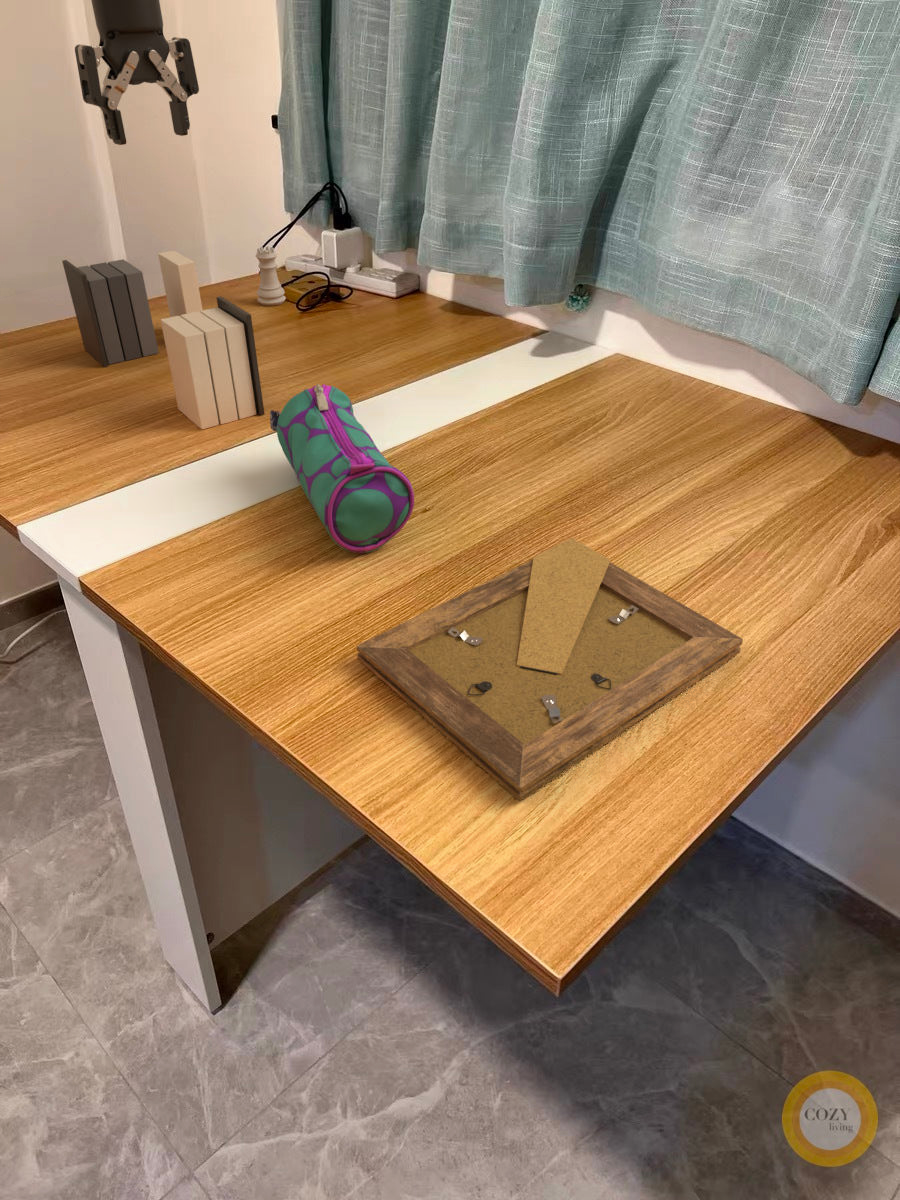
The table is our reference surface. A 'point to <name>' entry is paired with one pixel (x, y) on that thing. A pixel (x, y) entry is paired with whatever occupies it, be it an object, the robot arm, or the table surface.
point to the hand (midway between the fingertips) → (151, 139)
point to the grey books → (112, 311)
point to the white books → (214, 364)
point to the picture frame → (546, 662)
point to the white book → (180, 283)
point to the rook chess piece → (269, 279)
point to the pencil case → (342, 470)
